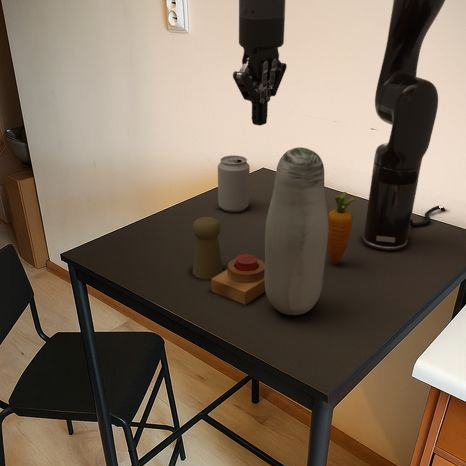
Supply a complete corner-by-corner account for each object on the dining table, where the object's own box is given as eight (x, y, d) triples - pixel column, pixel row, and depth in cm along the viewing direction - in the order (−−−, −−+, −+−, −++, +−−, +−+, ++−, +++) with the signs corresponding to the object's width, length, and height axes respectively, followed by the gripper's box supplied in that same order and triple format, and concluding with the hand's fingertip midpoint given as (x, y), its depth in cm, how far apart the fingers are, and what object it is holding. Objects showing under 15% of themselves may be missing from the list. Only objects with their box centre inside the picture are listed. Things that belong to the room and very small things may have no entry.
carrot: (332, 256, 122) (340, 186, 114) (352, 264, 119) (361, 192, 111) (317, 264, 119) (324, 192, 111) (337, 272, 117) (345, 199, 108)
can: (249, 213, 141) (249, 163, 134) (217, 213, 141) (217, 163, 134) (248, 202, 147) (249, 153, 140) (218, 201, 147) (218, 153, 140)
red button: (231, 268, 109) (231, 259, 108) (244, 260, 112) (244, 252, 111) (248, 274, 107) (248, 265, 106) (261, 266, 110) (261, 258, 109)
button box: (211, 291, 110) (210, 269, 108) (247, 270, 117) (247, 249, 115) (245, 305, 106) (245, 283, 104) (280, 282, 113) (281, 260, 111)
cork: (198, 281, 114) (197, 228, 107) (188, 268, 118) (185, 216, 112) (227, 275, 116) (227, 222, 109) (216, 262, 120) (215, 211, 114)
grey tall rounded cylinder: (328, 320, 102) (345, 157, 86) (271, 327, 100) (278, 162, 84) (309, 292, 110) (322, 139, 94) (256, 298, 108) (260, 143, 92)
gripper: (256, 19, 90) (254, 136, 100) (303, 11, 98) (297, 119, 108) (218, 16, 94) (220, 128, 104) (266, 8, 102) (264, 113, 112)
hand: (259, 124), depth 106 cm, fingers closed
